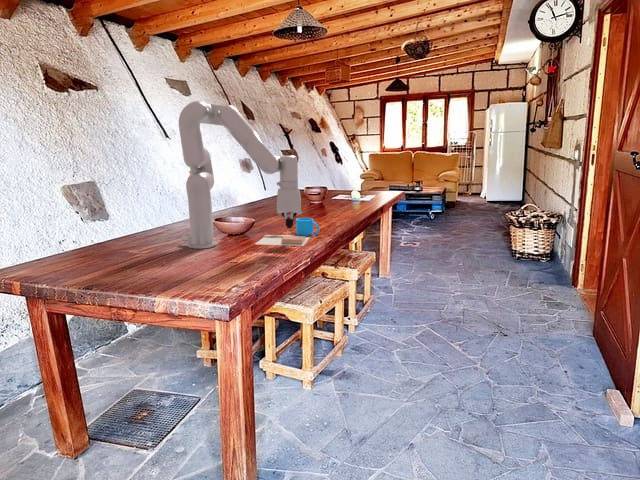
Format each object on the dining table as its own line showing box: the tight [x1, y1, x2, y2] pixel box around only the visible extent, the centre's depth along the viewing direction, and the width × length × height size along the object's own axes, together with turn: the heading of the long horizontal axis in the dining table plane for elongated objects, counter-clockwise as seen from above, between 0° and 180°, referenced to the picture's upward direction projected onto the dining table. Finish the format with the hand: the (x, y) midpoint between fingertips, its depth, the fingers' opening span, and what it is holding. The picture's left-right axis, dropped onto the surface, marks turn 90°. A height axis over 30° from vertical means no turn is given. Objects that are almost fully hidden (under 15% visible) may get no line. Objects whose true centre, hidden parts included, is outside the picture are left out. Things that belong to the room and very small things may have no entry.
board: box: [255, 236, 311, 247], centre depth 207 cm, size 21×18×1 cm
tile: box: [281, 235, 306, 244], centre depth 203 cm, size 2×7×9 cm
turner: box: [263, 234, 298, 238], centre depth 214 cm, size 16×5×1 cm, turn 82°
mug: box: [295, 217, 321, 236], centre depth 221 cm, size 12×8×8 cm
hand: (289, 227), depth 202 cm, fingers closed
